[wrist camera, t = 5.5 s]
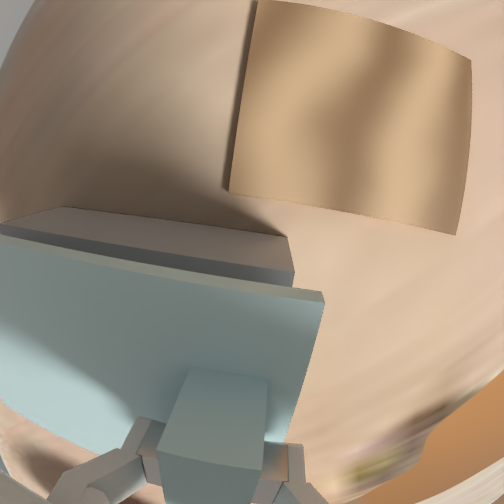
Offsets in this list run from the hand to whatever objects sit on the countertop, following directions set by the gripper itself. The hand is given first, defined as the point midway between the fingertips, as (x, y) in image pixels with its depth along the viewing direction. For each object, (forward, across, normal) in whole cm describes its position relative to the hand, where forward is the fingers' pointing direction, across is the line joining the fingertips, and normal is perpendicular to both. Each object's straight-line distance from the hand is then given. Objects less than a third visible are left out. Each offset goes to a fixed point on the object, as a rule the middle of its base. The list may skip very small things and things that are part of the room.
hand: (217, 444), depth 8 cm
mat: (+10, -5, -13) cm, 17 cm away
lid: (+2, +6, 0) cm, 6 cm away
